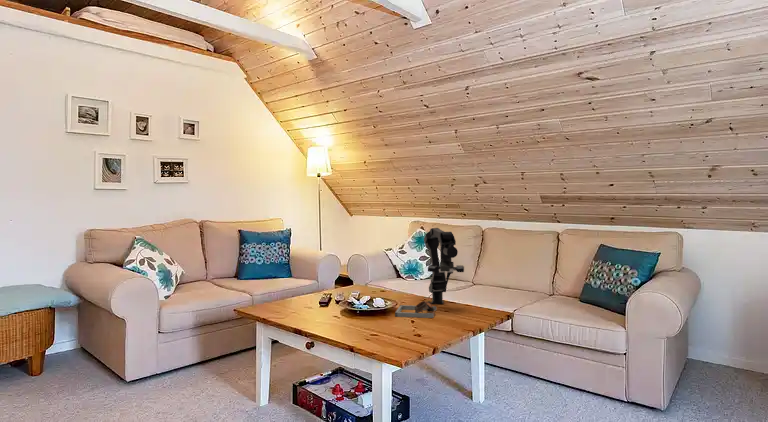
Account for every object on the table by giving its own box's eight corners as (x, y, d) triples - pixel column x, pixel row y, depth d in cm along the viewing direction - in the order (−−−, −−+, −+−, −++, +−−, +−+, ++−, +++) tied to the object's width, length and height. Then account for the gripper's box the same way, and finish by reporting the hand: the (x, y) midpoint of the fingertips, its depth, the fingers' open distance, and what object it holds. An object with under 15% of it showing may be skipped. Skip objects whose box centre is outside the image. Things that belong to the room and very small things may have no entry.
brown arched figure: (433, 319, 247) (425, 305, 246) (418, 325, 251) (410, 311, 251) (440, 307, 258) (432, 294, 257) (425, 314, 262) (417, 300, 261)
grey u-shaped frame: (400, 308, 267) (400, 305, 267) (436, 310, 263) (436, 306, 263) (395, 316, 251) (394, 312, 251) (433, 317, 247) (433, 313, 247)
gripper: (426, 257, 258) (426, 287, 258) (463, 257, 254) (463, 288, 255) (428, 254, 269) (429, 283, 269) (464, 254, 265) (464, 284, 266)
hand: (446, 284), depth 264 cm, fingers closed
